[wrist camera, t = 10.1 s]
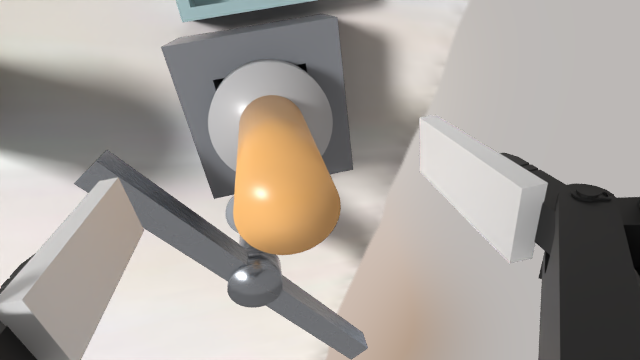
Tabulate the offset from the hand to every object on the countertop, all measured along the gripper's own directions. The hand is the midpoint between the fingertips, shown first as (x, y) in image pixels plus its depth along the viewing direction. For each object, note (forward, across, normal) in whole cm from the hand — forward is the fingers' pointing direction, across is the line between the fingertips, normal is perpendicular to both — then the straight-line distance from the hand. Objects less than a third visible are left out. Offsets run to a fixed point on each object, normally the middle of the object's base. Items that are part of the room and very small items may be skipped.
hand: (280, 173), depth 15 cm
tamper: (+12, 0, 0) cm, 12 cm away
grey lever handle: (+13, -3, -10) cm, 16 cm away
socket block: (+13, -1, -3) cm, 13 cm away
